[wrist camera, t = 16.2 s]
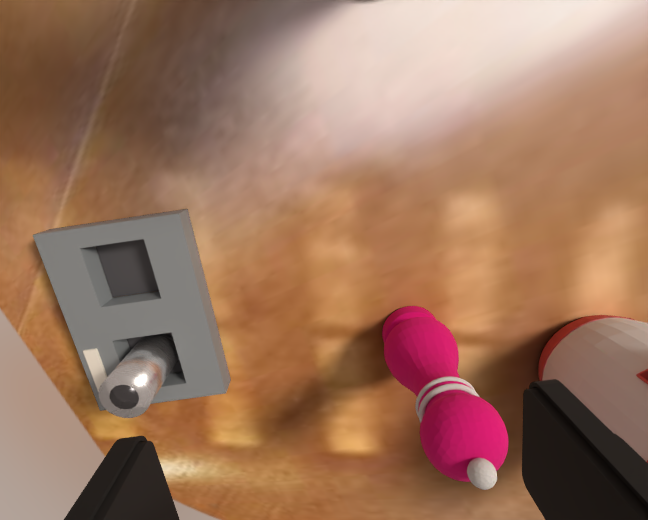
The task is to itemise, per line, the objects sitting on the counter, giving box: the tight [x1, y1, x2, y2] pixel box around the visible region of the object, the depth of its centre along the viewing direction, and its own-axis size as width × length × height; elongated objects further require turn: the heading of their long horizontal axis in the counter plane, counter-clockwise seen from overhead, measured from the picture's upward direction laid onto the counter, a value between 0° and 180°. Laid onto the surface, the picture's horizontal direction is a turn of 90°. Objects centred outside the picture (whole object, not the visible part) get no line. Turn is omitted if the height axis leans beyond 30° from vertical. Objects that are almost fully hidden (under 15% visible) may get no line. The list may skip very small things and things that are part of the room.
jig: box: [33, 209, 231, 411], centre depth 40 cm, size 20×14×3 cm
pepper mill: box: [382, 306, 508, 490], centre depth 33 cm, size 7×7×20 cm
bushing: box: [99, 333, 179, 418], centre depth 38 cm, size 5×5×8 cm
